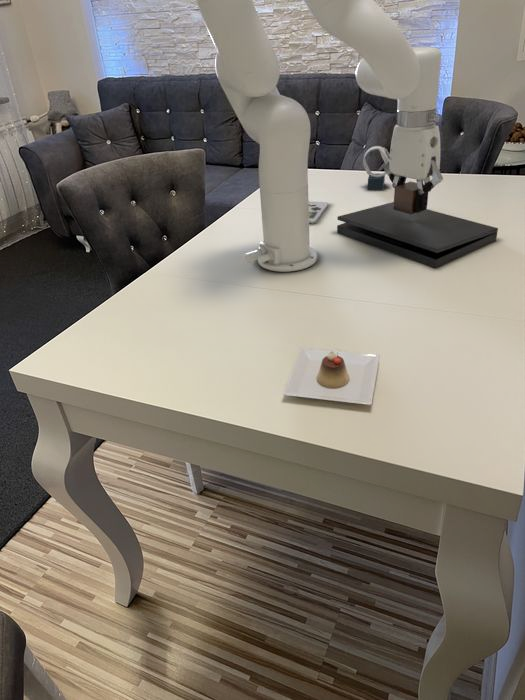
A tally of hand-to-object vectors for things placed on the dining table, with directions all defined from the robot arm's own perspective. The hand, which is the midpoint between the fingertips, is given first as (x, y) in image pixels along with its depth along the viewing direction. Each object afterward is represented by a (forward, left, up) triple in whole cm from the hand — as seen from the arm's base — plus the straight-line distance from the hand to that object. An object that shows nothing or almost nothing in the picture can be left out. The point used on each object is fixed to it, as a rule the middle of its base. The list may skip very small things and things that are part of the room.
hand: (410, 207), depth 116 cm
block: (0, 0, 0) cm, 0 cm away
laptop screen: (+1, -1, -4) cm, 4 cm away
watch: (+23, +31, -7) cm, 39 cm away
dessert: (-49, -29, -7) cm, 58 cm away
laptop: (+1, -1, -7) cm, 7 cm away
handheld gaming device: (-5, +29, -7) cm, 30 cm away
